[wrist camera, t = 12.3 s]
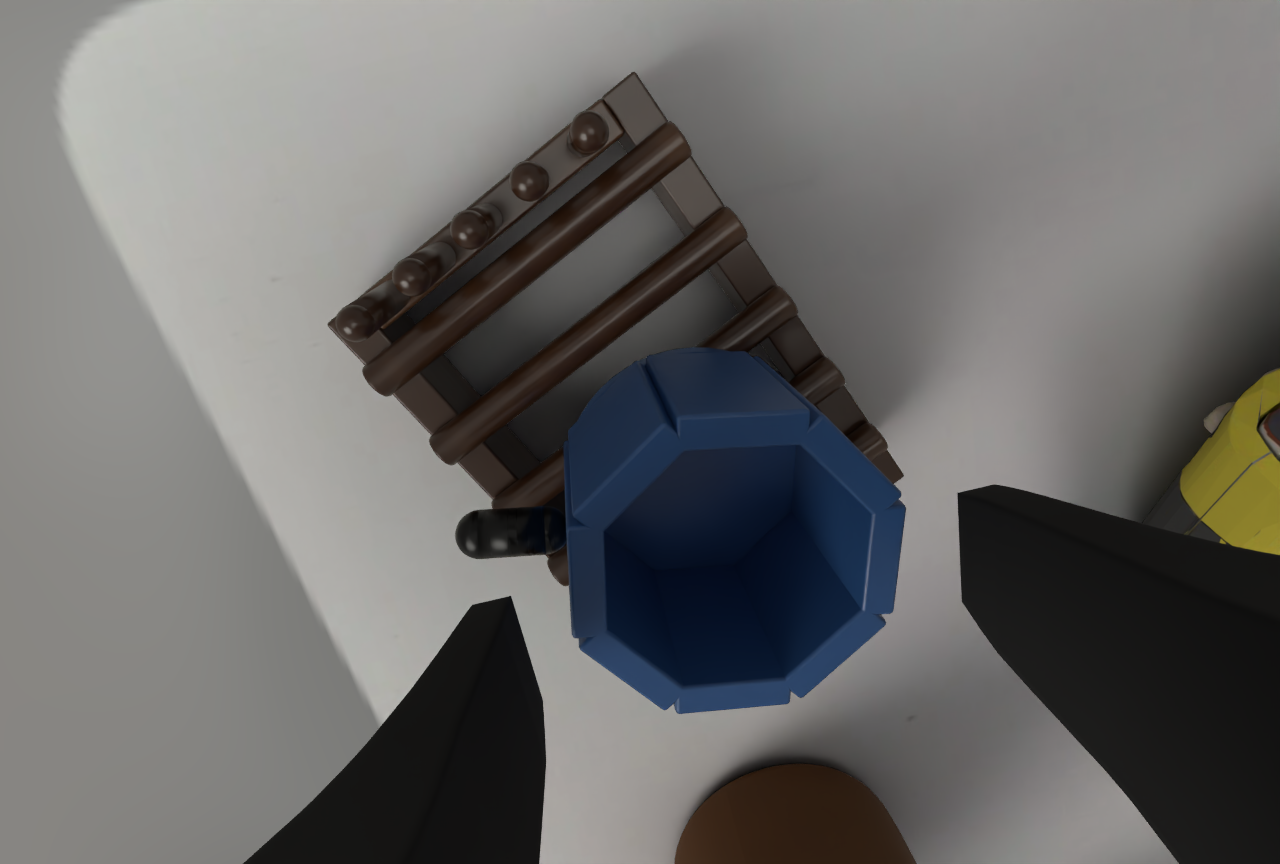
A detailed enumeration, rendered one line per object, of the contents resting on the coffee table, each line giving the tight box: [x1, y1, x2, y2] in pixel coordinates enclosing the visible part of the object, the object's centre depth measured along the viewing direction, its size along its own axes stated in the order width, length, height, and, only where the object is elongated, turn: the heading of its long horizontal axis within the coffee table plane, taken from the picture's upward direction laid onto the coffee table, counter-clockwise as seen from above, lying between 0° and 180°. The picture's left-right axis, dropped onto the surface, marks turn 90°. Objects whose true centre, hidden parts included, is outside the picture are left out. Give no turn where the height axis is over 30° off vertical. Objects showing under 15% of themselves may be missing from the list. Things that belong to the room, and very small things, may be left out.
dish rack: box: [328, 72, 904, 586], centre depth 15 cm, size 8×11×6 cm
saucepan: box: [455, 347, 906, 714], centre depth 14 cm, size 8×6×4 cm
